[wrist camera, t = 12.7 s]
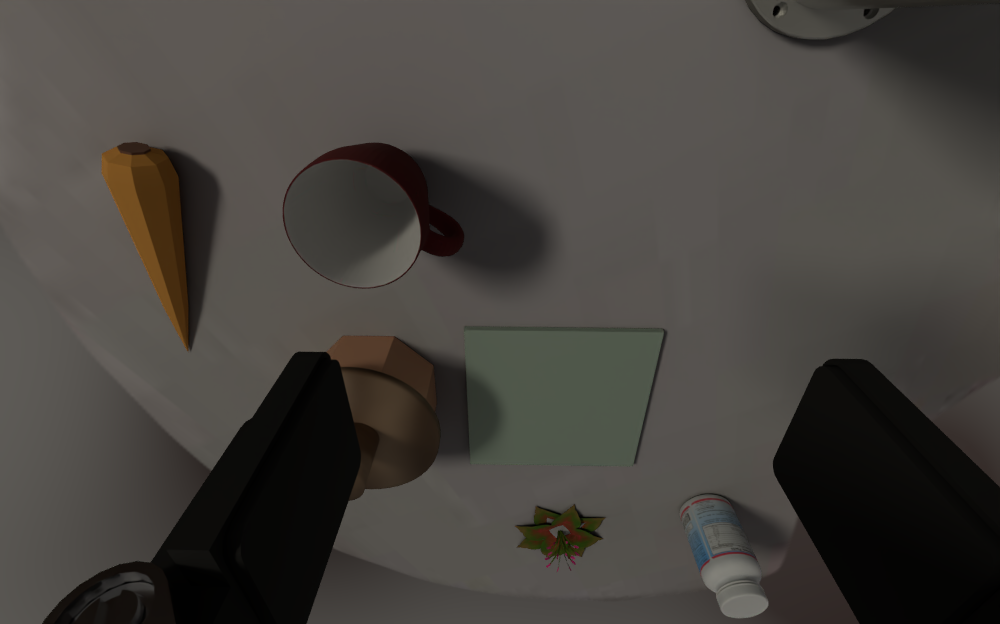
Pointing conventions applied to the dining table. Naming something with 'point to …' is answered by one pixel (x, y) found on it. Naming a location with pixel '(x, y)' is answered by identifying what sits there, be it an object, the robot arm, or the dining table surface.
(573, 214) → the dining table surface
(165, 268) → the carrot
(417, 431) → the lid
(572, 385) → the mat
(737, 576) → the pill bottle
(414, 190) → the mug
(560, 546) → the lily flower
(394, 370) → the bowl
